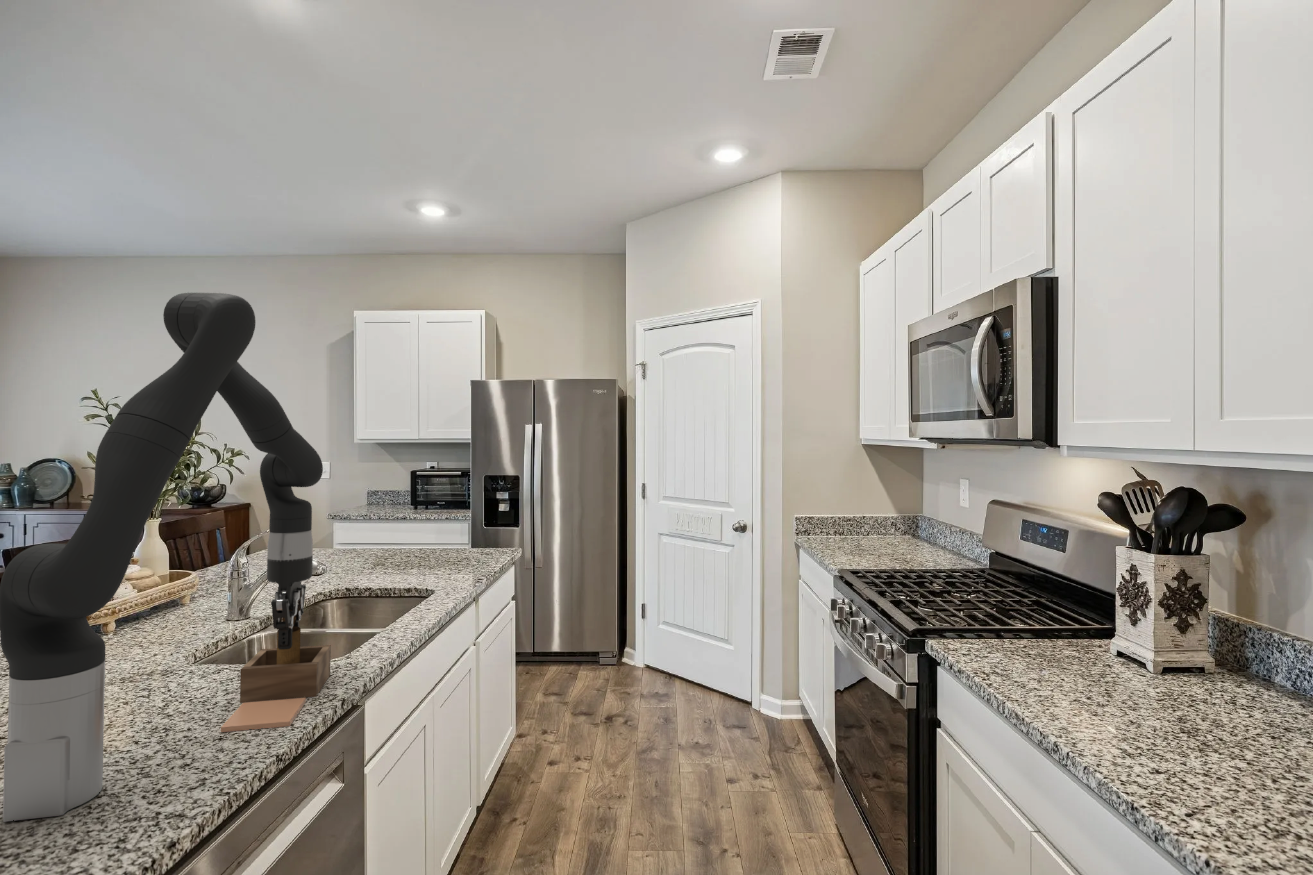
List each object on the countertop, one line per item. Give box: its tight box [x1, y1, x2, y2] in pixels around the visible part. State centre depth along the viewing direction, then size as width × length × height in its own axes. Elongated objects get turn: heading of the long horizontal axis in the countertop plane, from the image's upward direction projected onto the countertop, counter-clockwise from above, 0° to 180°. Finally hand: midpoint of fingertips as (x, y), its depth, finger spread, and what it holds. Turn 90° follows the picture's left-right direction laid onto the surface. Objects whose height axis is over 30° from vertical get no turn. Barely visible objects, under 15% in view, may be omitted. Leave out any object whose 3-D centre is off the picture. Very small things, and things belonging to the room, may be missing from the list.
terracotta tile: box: [220, 697, 307, 733], centre depth 110 cm, size 10×10×1 cm
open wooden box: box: [239, 644, 332, 704], centre depth 123 cm, size 11×12×6 cm
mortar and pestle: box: [276, 600, 302, 665], centre depth 123 cm, size 7×6×18 cm
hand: (288, 644), depth 123 cm, fingers closed on mortar and pestle, 4 cm apart
